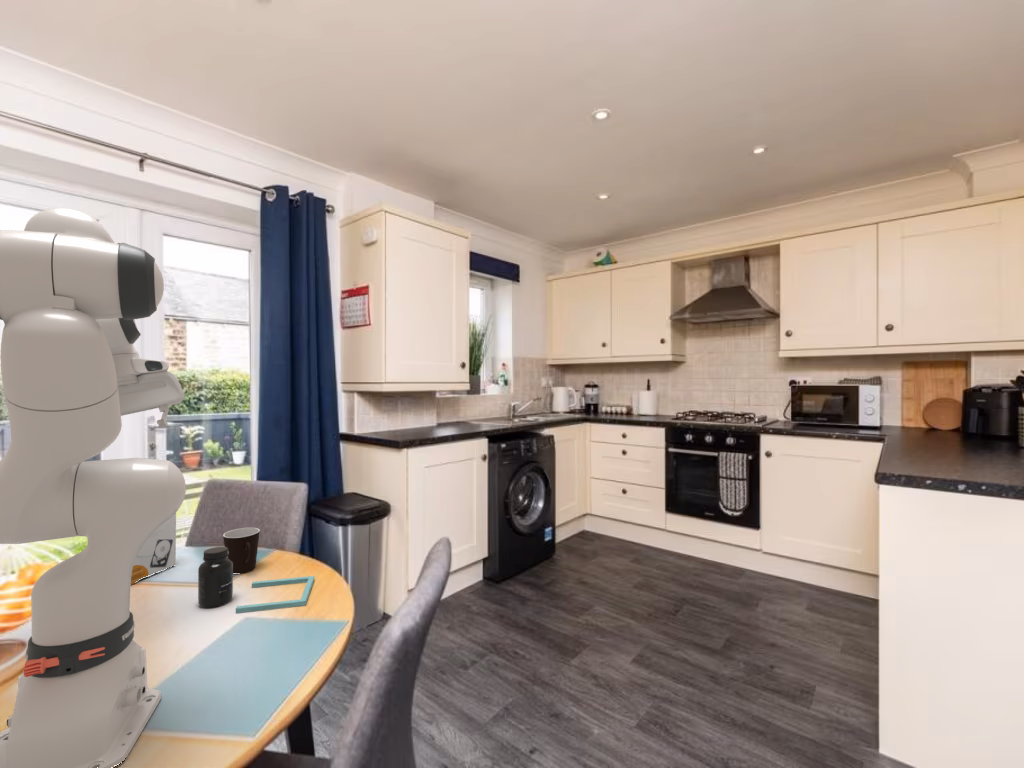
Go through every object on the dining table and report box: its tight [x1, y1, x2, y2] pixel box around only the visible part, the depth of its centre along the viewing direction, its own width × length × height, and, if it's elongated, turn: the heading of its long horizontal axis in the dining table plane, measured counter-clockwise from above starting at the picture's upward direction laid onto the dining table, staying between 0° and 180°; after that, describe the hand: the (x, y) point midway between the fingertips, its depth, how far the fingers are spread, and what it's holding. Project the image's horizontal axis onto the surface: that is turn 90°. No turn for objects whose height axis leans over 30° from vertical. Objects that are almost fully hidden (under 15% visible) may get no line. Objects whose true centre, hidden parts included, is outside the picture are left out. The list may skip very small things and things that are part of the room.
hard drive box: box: [131, 512, 177, 585], centre depth 126 cm, size 16×8×20 cm, turn 168°
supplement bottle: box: [197, 546, 234, 609], centre depth 111 cm, size 7×7×12 cm
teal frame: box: [235, 575, 315, 614], centre depth 115 cm, size 14×14×1 cm
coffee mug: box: [222, 527, 261, 575], centre depth 128 cm, size 12×9×10 cm
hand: (137, 433), depth 104 cm, fingers open, 8 cm apart
